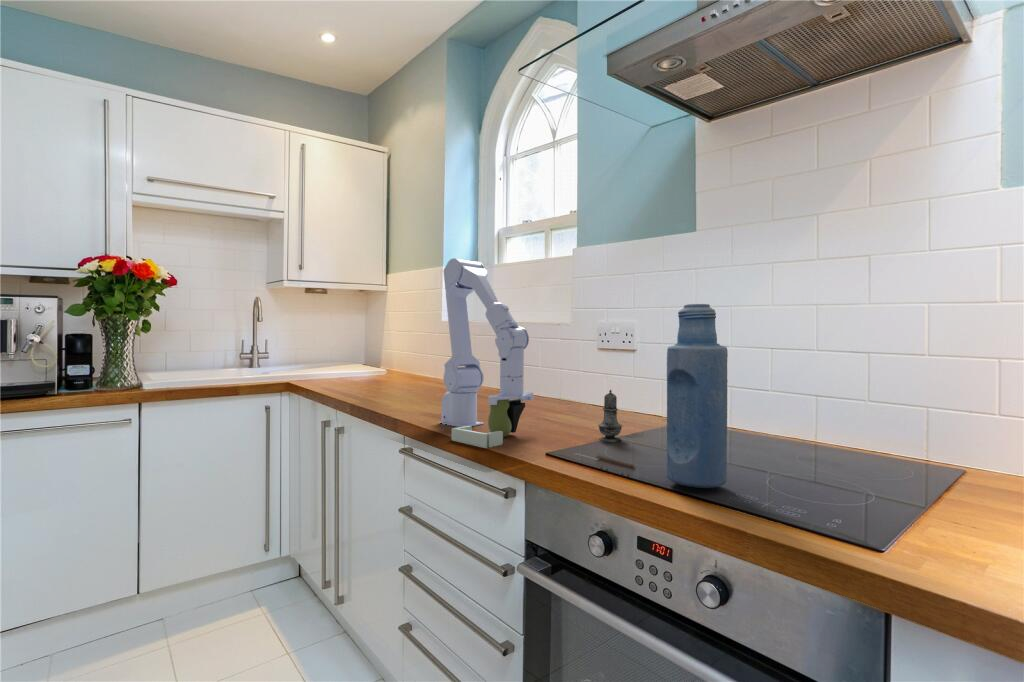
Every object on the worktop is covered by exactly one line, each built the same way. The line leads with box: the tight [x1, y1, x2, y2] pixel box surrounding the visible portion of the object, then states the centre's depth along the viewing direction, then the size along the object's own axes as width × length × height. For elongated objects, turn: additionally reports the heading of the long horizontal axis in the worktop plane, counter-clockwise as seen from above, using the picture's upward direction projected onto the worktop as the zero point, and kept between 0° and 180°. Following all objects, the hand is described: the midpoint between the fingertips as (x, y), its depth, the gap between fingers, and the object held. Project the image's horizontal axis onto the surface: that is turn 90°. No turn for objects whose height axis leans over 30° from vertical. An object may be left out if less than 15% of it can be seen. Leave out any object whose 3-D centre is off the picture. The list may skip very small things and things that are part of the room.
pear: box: [487, 399, 512, 438], centre depth 128 cm, size 6×5×10 cm
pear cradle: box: [451, 426, 504, 449], centre depth 122 cm, size 11×6×3 cm, turn 49°
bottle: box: [666, 303, 729, 489], centre depth 91 cm, size 10×10×30 cm
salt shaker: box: [597, 389, 623, 443], centre depth 127 cm, size 6×6×12 cm
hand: (511, 432), depth 130 cm, fingers closed
